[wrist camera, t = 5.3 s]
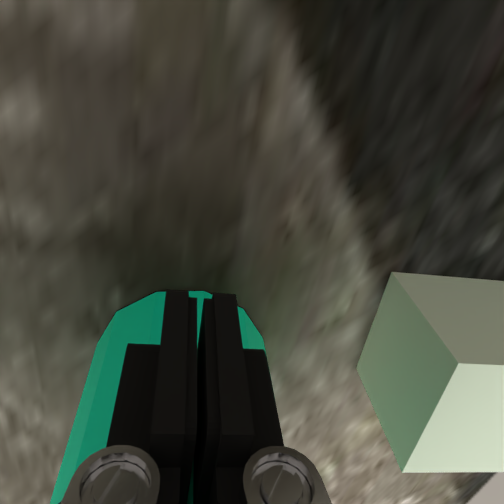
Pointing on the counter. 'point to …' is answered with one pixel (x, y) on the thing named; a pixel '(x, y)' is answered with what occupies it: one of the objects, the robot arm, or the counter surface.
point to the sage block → (439, 372)
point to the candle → (109, 371)
